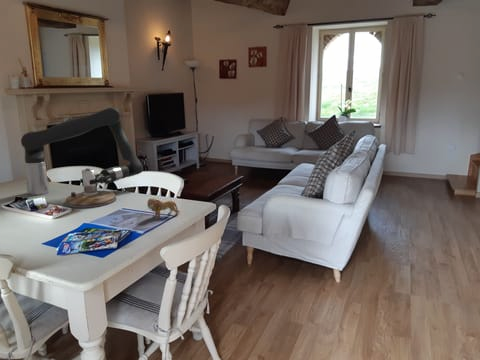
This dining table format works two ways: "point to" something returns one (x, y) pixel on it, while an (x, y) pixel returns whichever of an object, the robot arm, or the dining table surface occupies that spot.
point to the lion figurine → (161, 206)
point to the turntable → (90, 198)
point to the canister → (87, 176)
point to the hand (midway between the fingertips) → (85, 181)
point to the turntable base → (91, 205)
